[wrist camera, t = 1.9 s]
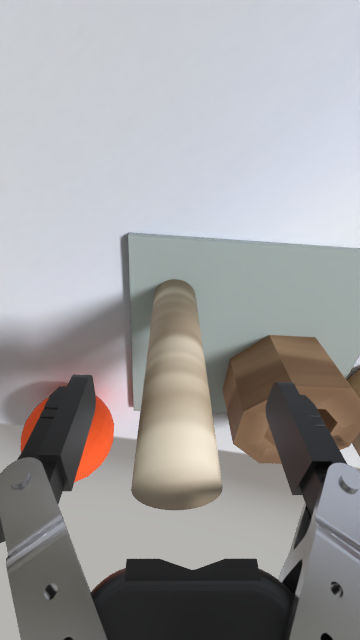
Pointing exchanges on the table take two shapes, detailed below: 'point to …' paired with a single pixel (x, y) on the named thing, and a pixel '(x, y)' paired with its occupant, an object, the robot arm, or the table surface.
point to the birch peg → (176, 409)
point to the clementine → (96, 440)
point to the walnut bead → (286, 366)
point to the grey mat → (247, 298)
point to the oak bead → (356, 381)
